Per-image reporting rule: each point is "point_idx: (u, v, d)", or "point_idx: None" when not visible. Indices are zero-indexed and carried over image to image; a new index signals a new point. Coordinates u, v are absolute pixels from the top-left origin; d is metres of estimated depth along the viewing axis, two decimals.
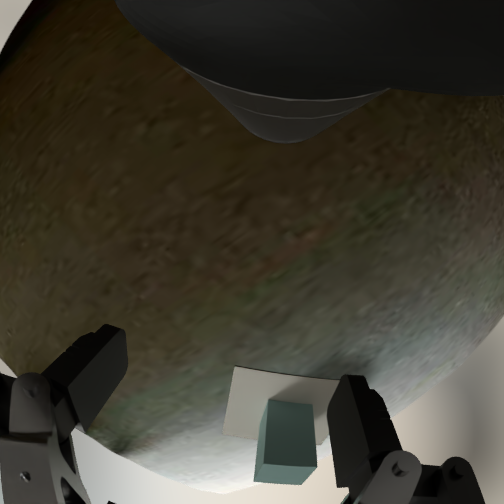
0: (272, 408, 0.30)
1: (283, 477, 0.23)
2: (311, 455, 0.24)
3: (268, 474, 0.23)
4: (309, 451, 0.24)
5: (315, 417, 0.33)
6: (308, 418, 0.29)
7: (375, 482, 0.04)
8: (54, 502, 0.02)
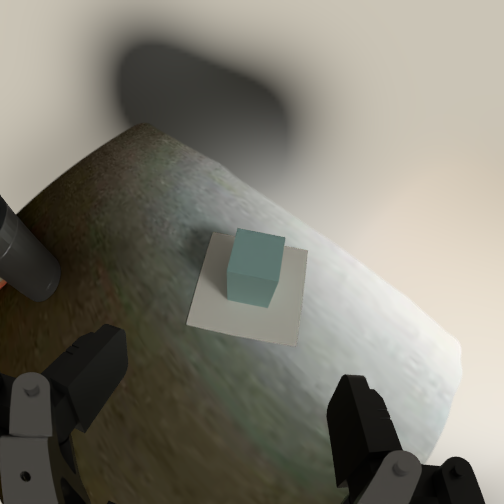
0: None
1: (263, 253, 0.33)
2: None
3: (254, 266, 0.32)
4: None
5: None
6: None
7: (375, 482, 0.04)
8: (54, 502, 0.02)
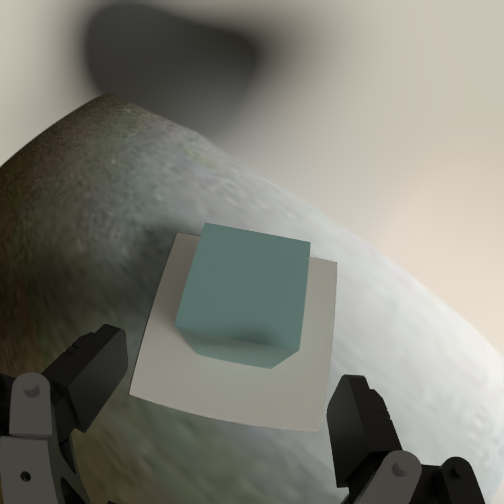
0: None
1: (261, 281, 0.14)
2: None
3: (241, 314, 0.13)
4: None
5: None
6: None
7: (375, 482, 0.04)
8: (54, 502, 0.02)
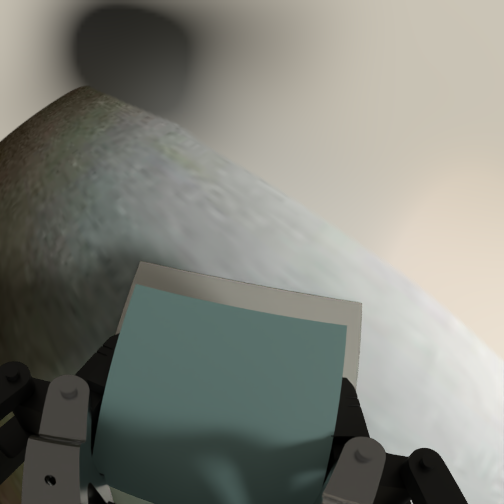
0: None
1: (245, 419, 0.06)
2: None
3: (203, 478, 0.05)
4: None
5: None
6: None
7: (333, 465, 0.05)
8: None
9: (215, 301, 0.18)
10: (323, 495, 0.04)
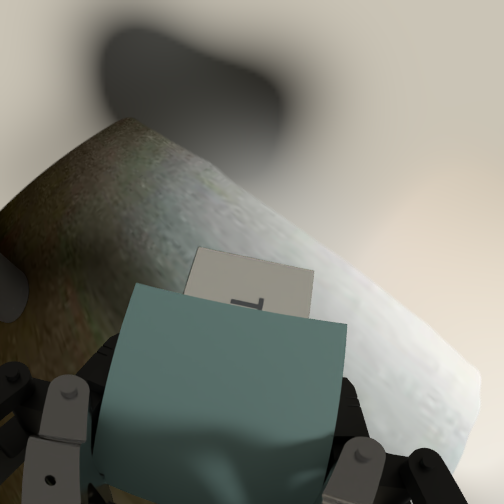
0: None
1: (245, 417, 0.06)
2: None
3: (204, 477, 0.05)
4: None
5: (251, 283, 0.35)
6: None
7: (333, 465, 0.05)
8: None
9: (239, 267, 0.36)
10: (323, 495, 0.04)
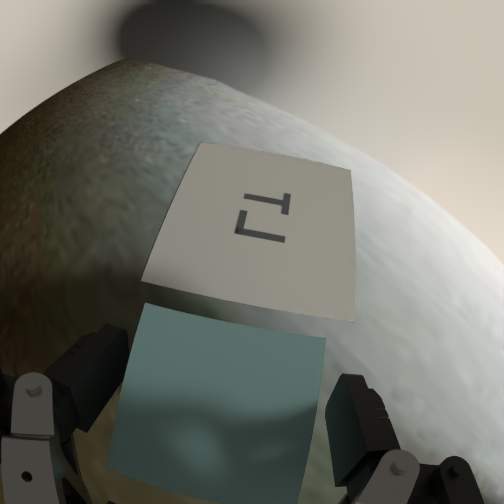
0: None
1: (238, 416, 0.07)
2: None
3: (204, 465, 0.06)
4: None
5: (271, 177, 0.25)
6: None
7: (373, 481, 0.04)
8: (55, 502, 0.02)
9: (253, 160, 0.26)
10: None
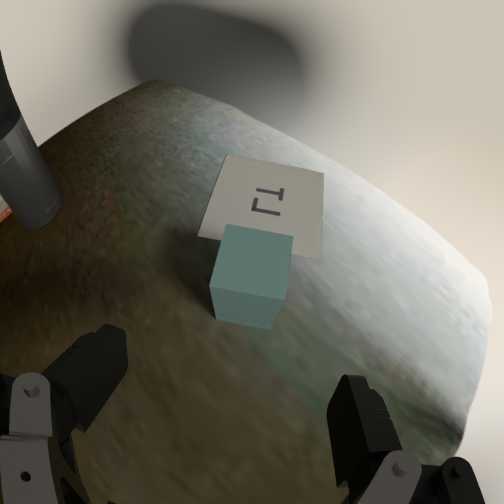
0: None
1: (262, 259, 0.23)
2: None
3: (250, 278, 0.22)
4: None
5: (272, 178, 0.41)
6: None
7: (375, 482, 0.04)
8: (54, 502, 0.02)
9: (261, 167, 0.42)
10: None
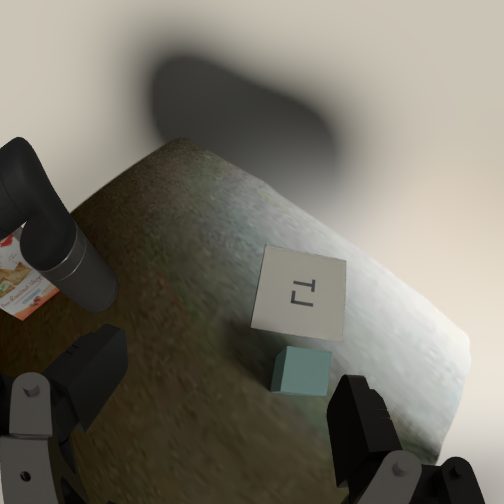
0: (271, 387, 0.38)
1: (312, 371, 0.32)
2: (284, 352, 0.35)
3: (305, 384, 0.31)
4: (283, 354, 0.35)
5: (305, 269, 0.50)
6: (277, 358, 0.40)
7: (375, 482, 0.04)
8: (54, 502, 0.02)
9: (296, 258, 0.51)
10: None
